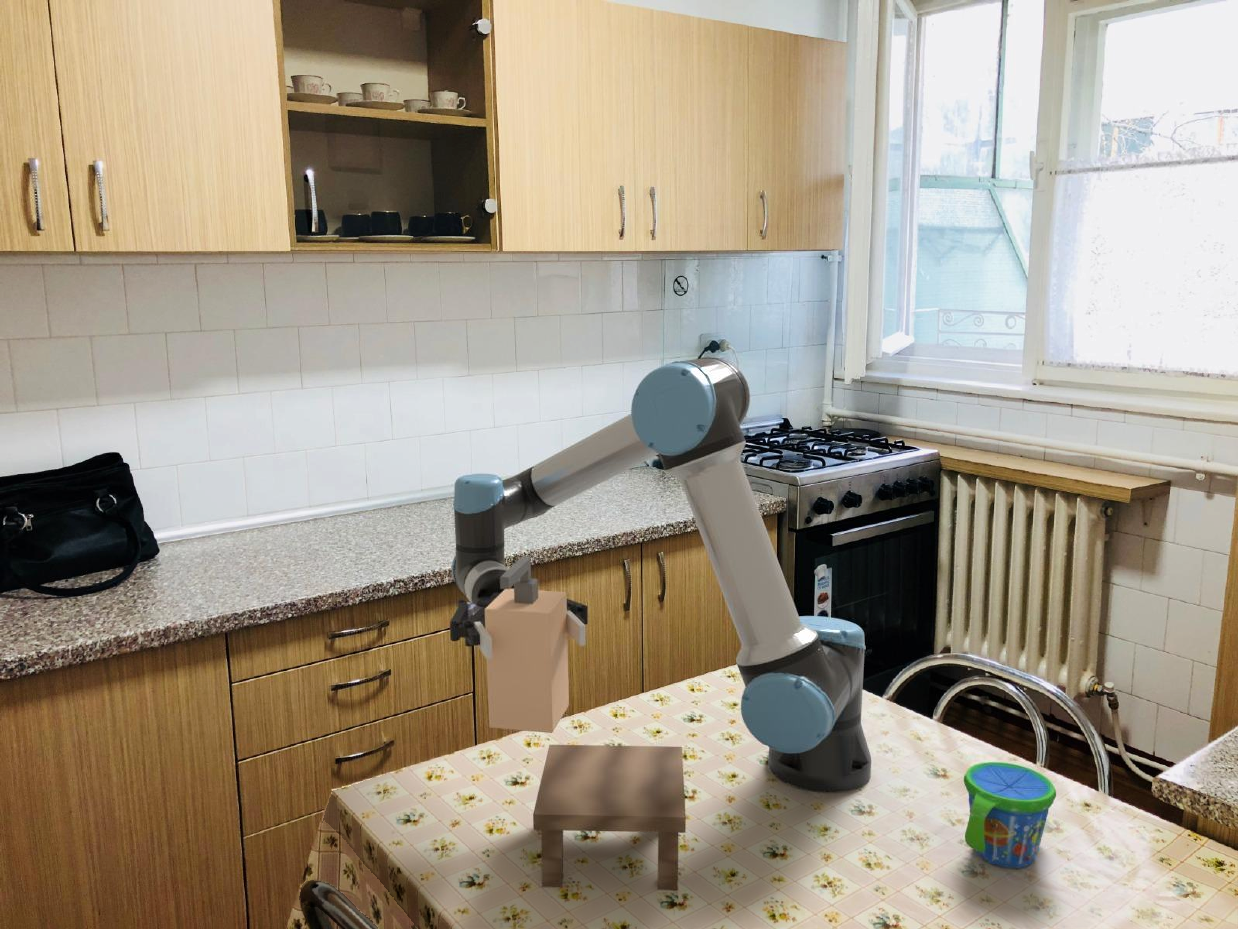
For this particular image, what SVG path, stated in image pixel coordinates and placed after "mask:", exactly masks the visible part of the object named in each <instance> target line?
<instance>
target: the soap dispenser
mask: <svg viewBox="0 0 1238 929" xmlns="http://www.w3.org/2000/svg"><path fill="white" fill-rule="evenodd" d="M531 567H532V562H531V556H527V555H523V556H521V557H520V558H518V560H517V561H516V562H515V563H513V564H512V566H511V567H508V570H507V571H506V572H505V573H504V574H503V575H502V576H501V577H500V589H505V590H504V591H503V592H502V593H501V594H500V595H499V596H498V597H497V598H496V599H495V600H494V601H493V602H492V603H491V604H490V605H489V606H488V607H486V608H485V630H487V632H488V633H489V635H490V636H491V637H492V658H490V659H486V678H487V702H488V703H487V704H488V705H487V706H488V722H489V723H488V726H489V728H492V729H500V730H501V729H503V730H504V729H505V730H514V731H525V732H526V731H527V732H534V733H535V732H536V733H547V734H548V733H549V734H552V733H554V731H555V730H556V727H557V726H558V724H560V723H559V722H560V721H561V719H562V718H563V716H564V714H565V712H566V711H567V709H568V707H569V706H570V696H569V695H570V693H569V692H570V686H569V684H570V683H569V650H568V648H569V645H568V644H569V642H568V633H567V599H568V598H567V597H568V596H567V591H560V590H559V591H557V590H550V591H545V590H542V589H541V590H540V589H539V579H538V578H532V568H531ZM513 585H514V589H510V588H511V587H512V586H513Z"/></svg>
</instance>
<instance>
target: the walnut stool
mask: <svg viewBox="0 0 1238 929" xmlns="http://www.w3.org/2000/svg"><path fill="white" fill-rule="evenodd" d="M544 762H545V763H544V766H543V771H542V774H541V779H540V784H539V788H538V792H537V796H536V800H535V801H536V802H535V804H534V805H535V806H534V809H533V813H532V817H533V818H532V822H533V824H532V825H533V826H532V828H533V829H532V830H534V831H540V847H541V848H540V849H541V850H540V851H541V853H540V854H541V857H540V858H541V888H559V889H560V888H562V887H563V882H564V877H565V875H564V874H565V872H564V831H570V832H571V831H572V832H573V831H576V832H577V831H578V832H585V831H586V832H619V833H620V832H626V833H627V832H629V833H631V832H632V833H634V832H635V833H657V837H658V838H657V839H658V840H657V854H658V855H657V890H661V891H679V834H680V833H682V834H686V833H687V832H686V831H687V830H686V829H687V827H686V825H687V824H686V822H687V821H686V820H687V819H686V818H687V816H686V799H685V798H686V796H685V795H686V794H685V780H684V779H685V778H684V777H685V776H684V760H683V746H662V745H661V746H660V745H659V746H658V745H657V746H656V745H654V746H653V745H650V746H649V745H605V744H603V745H598V744H597V745H595V744H592V745H591V744H589V745H588V744H586V745H585V744H549V745H548V748H547V754H546V758H545V761H544Z"/></svg>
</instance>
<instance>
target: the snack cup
mask: <svg viewBox="0 0 1238 929" xmlns="http://www.w3.org/2000/svg"><path fill="white" fill-rule="evenodd" d="M963 783H964V786H965V789H966V791H967V793H968V804H969V818H968V821H967V822H968V823H967V826H966V830H965V832H964V840H965V843H966V845H968V847H969V848H971V849H972V850H974V851H975V852H976V853H977V854H978V855H979V856H980V857H981V858H983V859H984V860H986V862H987V863H988V864H992V865H993V864H994V865H997V866H1000V867H1003V868H1017V869H1024V868H1025V867H1026V866H1030V865H1032V864H1033V863H1034V861H1035V859H1036V858H1037V856H1038V853H1039V849H1040V845H1041V843H1042V842H1041V841H1042V837H1043V835H1044V830H1045V827H1046V822H1047V819H1048V818H1047V817H1048V815H1049V809H1050V808H1051V806H1052V805H1053V804H1054V801H1055V799H1056V797H1057V790H1056V788H1055V786H1054V784H1053V782H1052V781H1051V779H1049V778H1048V777H1047V776H1045V775H1044V774H1042V773H1040V772H1038V771H1036V770H1034V769H1032V768H1028V767H1026V766H1024V765H1019V764H1015V763H1010V762H1002V761H989V762H987V761H986V762H980V763H977V764H974V765H972V766H970V767H969V768H967V770H966V772H965V774H964V775H963Z"/></svg>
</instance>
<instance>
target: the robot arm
mask: <svg viewBox="0 0 1238 929" xmlns="http://www.w3.org/2000/svg"><path fill="white" fill-rule="evenodd" d="M750 399H751V392H750V387H749V385H748V382H747V380H746V378H745V376H744V374H743V373H742V371H741V370H740V369H739V368H738V367H737V366H735V364H733V363H732V362H729V361H728V360H725V359H723V358H718V357H717V356H716V357H715V356H713V357H712V356H705V357H698V358H696V359H695V358H694V359H687V360H675V361H673V362H670V363H666V364H664V365H663V366H660V367H658V368H656V369H653V370H652V371H651V372H649V373H648V374H647V375H645V377H643V379H642V380H641V381H640V382H639V384H638V385H637V388H636V390H635V392H634V395H633V398H632V401H631V409H630V413H629V414H627V415H626V416H624V417H622V418H620V419H618V420H617V421H615V422H613V423H611V424H609V425H607V426H605V427H603V428H602V429H599V430H598V431H596V432H594V433H592V434H591V435H588V436H586V437H585V438H583V439H581V440H579V441H578V442H575V443H574V444H572V445H570V446H568V447H566V448H564V449H562V450H561V451H559V452H557V453H555V454H553V455H551V456H549V457H548V458H546V459H544V460H542V461H540V462H538V463H537V464H534V465H533V466H531V467H529V468H527V469H525V470H523V471H522V472H519V473H518V474H517V473H516V475H513V476H511V477H509V478H508V477H507V478H506V479H502V478H501V476H499V475H496V474H493V473H472V474H465V475H461V476H460V477H458V478H457V479H456V480H455V482H454V491H453V493H454V496H453V497H454V498H453V503H452V504H453V505H452V506H453V512H454V535H455V556H454V557H453V559H452V563H451V574H452V578H453V581H454V582H455V583H456V586H457V589H459V590H460V591H461V593H463V595H464V596H465V597H466V598H467V600H468V601H469V602H467V600H465V599H459V600H457V601H456V602H457V603H456V605H457V606H456V607H457V608H456V611H455V612H454V613H453V616H452V617H451V619H450V621H449V635H450V636H449V637H450V641H451V642H457V641H460V639H461V638H462V639H463V638H464V645H465V647H471V648H472V647H474V646H477V647H478V648H479V651H480V652H481V653H482V655H483V656H484V658H485V659H486V660H487V659H490V658H492V637H491V636H490V635H489V633H488V632H487V630H485V608H486V607H488V606H489V605H490V604H491V603H492V602H493V601H494V600H495V599H496V598H497V597H498V596H499V595H500V594H501V593H502V592H503V591H504V590H505V589H500V577H501V576H502V575H503V574H504V573H505V572H506V571H507V570H508V569H509V567H507V566H506V563H505V562H506V560H505V529H508V528H510V527H512V526H516V525H518V524H519V523H522V522H525V521H528V520H530V519H535V518H537V517H540V516H542V515H544V514H545V513H548V511H549V510H551V509H552V508H554V507H556V506H558V505H560V504H562V503H564V502H566V501H568V500H570V499H572V498H574V497H577V496H578V495H580V494H582V493H584V492H585V491H586V492H587V491H588V490H590V489H592V488H594V487H597V486H598V485H600V484H602V483H605V482H606V481H608V480H610V479H612V478H615V477H616V476H618V475H620V474H623V473H624V472H626V471H628V470H630V469H632V468H635V467H636V466H638V465H640V464H642V463H644V462H646V461H648V460H650V459H652V458H654V457H656V456H659V459H660V461H661V462H660V463H661V464H662V465H661V466H662V467H663V470H664V472H665V473H666V474H667V475H668V476H669V475H670V476H671V477H673V478H676V479H677V480H679V482H680V483H681V486H682V488H683V492H684V494H685V496H686V499H687V502H688V505H689V508H690V510H691V512H692V515H693V517H694V521H695V522H696V526H697V529H698V532H699V534H700V537H701V540H702V542H703V545H704V547H705V550H706V552H707V556H708V558H709V561H710V564H711V565H712V569H713V572H714V574H715V576H716V580H717V582H718V585H719V588H720V590H721V594H722V595H723V598H724V601H725V604H726V606H727V610H728V611H729V612H728V613H729V615H730V617H731V620H732V622H733V625H734V627H735V630H736V633H737V635H738V636H737V637H738V638H739V642H740V644H741V646H740V650H739V651H738V654H737V656H736V658H735V660H736V661H735V662H736V665H737V668H738V670H739V673H740V677H741V679H742V682H743V684H744V689H743V693H742V696H741V701H740V714H741V718H742V721H743V723H744V725H745V727H746V728H747V730H748V732H750V734H751V736H753V737H754V738H755V739H756V740H757V741H758V742H759V743H761V745H764V746H767V747H769V749H768V760H767V762H768V763H767V766H768V769H769V771H770V772H771V773H772V774H773V776H774V777H776V778H777V779H778V780H779V781H782V783H785V784H787V785H790V786H791V787H795V788H798V789H802V790H806V791H809V792H817V793H841V792H842V793H843V792H847V791H852V790H855V789H859V788H860V787H862V786H864V785H865V784H866V783H867V782H868V781H869V780H870V778H871V776H872V756H871V752H870V749H869V746H868V742H867V739H866V736H865V732H864V729H863V726H862V706H863V690H864V689H863V687H864V686H863V684H864V667H865V665H864V664H865V650H866V645H865V644H866V643H865V632H864V630H863V628H862V627H860V625H858V624H856V623H854V622H852V621H848V620H845V619H841V618H836V617H828V616H819V615H804V616H803V615H802V616H799V613H798V611H797V607H796V604H795V602H794V599H793V597H792V595H791V591H790V589H789V587H788V583H787V582H786V579H785V576H784V572H783V571H782V567H781V565H780V563H779V560H778V556H777V555H776V552H775V549H774V546H773V544H772V541H771V537H770V536H769V533H768V530H767V527H766V525H765V523H764V519H763V517H762V513H761V511H760V509H759V506H758V503H757V501H756V498H755V494H754V492H753V490H752V487H751V485H750V482H749V478H748V477H747V474H746V471H745V468H744V466H743V462H742V461H741V457H742V456H741V455H742V453H743V450H744V448H745V446H746V444H747V442H746V438H745V435H744V434H743V433H744V432H743V430H742V428H741V423H742V422H743V420H744V419H745V417H746V416H747V414H748V412H749V409H750V402H751V400H750ZM510 589H514V585H513V586H512V587H511V588H510ZM544 591H551V590H548V589H546V590H544ZM588 608H589V607H588V605H586V604H583V603H580V602H577V601H575V600H573V599H569V598H567V635H568V636H570V637H571V638H572V639H573V640H574V642H575V643H577V645H579V646H580V647H584V646H586V643H587V642H586V641H587V640H586V639H587V638H586V636H587V635H586V633H587V632H586V625H587V624H589V623H588V622H589V621H588V619H589V616H588V615H589V614H588V613H589V609H588Z"/></svg>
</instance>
